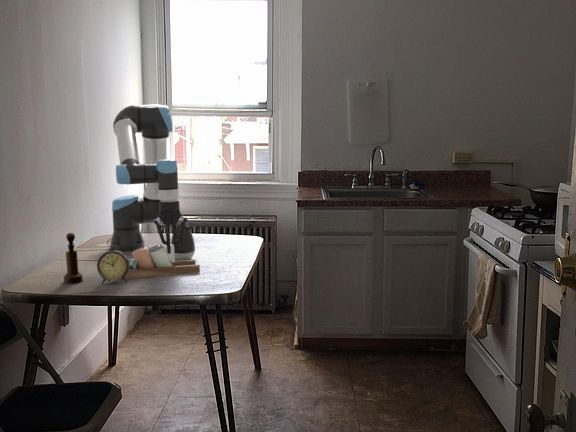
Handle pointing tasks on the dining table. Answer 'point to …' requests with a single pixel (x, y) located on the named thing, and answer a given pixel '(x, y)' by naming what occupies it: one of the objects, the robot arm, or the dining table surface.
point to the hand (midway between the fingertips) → (172, 261)
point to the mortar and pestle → (72, 262)
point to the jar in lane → (143, 258)
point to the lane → (165, 270)
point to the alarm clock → (113, 265)
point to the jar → (160, 256)
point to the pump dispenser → (185, 244)
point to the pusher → (133, 264)
